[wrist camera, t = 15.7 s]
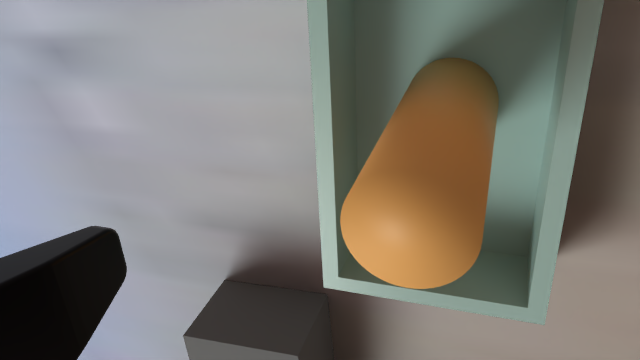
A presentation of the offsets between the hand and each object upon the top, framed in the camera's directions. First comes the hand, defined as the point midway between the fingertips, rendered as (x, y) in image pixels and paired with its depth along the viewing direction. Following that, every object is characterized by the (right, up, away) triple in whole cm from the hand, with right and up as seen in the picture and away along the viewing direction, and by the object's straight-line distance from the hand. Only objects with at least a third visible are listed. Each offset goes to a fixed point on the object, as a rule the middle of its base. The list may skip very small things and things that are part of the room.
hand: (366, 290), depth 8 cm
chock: (-2, -5, +15) cm, 16 cm away
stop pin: (+3, +4, +7) cm, 9 cm away
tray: (+3, +4, +8) cm, 10 cm away
